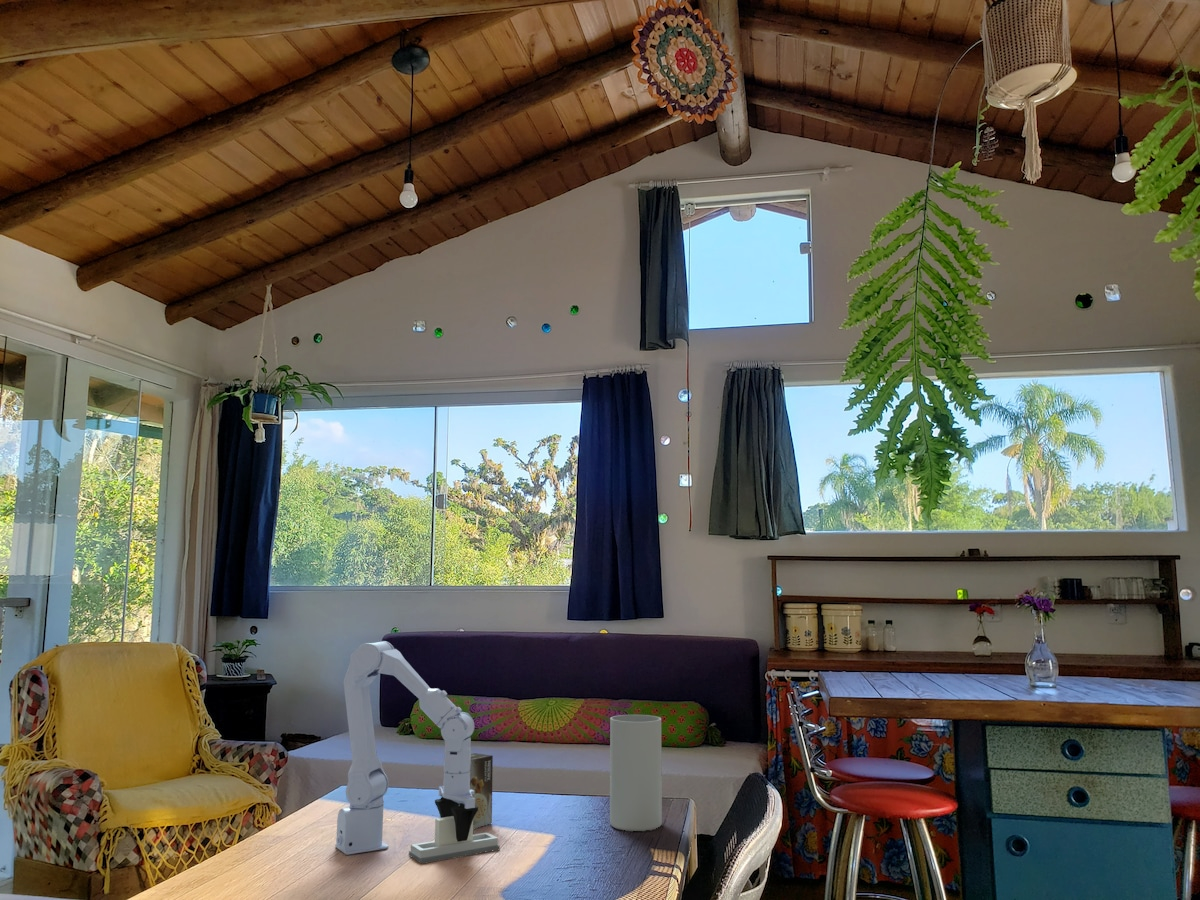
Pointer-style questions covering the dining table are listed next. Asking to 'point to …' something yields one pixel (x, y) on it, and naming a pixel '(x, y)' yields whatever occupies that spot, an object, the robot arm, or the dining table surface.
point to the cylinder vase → (635, 772)
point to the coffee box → (481, 787)
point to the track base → (453, 848)
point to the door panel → (448, 831)
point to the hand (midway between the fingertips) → (455, 836)
